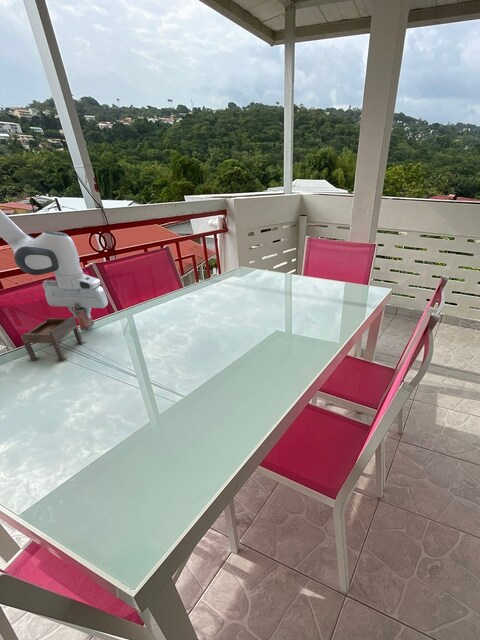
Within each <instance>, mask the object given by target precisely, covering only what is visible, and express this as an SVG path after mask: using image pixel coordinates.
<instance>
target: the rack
mask: <svg viewBox="0 0 480 640" xmlns="http://www.w3.org/2000/svg"><path fill="white" fill-rule="evenodd" d="M71 332H73V334H74V335H75V339H76V342H77V344H78V345H83V344H84V341H83V338H82V336H81V333H80V330H79V328H78V324H77V322H76V318H75V317H74V315H71V316H69V317H67V318H61V317H59V318H57V317H55V318H54V317H53V318H52V317H47V318H45V320H44V321H43V322H42V323H39V325H37V326H35V327H34V328H33V329H31V330H30V331H28V332H26V333H22V334H21V336H20V339H21V341H22V344H23V346H24V348H25V350H26V352H27V354H28V357H29V359H30V360H31V361H36V360H37V359H38V358H37V356H36V353H35V351H34V348H33V347H32V344H52V346H53V349H54V351H55V353H56V356H57V359H58V361H59V362H63V361H64V360H65V356H64V353H63V351H62V348H61V346H60V343H59V342H60V341H61V340H63V339H64V338H65V337H67V336H68V335H69V334H70V333H71Z"/></svg>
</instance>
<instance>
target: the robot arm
mask: <svg viewBox="0 0 480 640" xmlns="http://www.w3.org/2000/svg"><path fill="white" fill-rule="evenodd" d="M0 238H1V239H3V240H4V241H5V242H6V243H7V244H8V245H9V247H10V248H11V250H12V252H13V257H14V262H15V264H16V266H17V267H18V268H19V269H20V270H21V271H22V272H23V273H26V274H28V275H31V276H43V275H45V274H51V273H53V274H54V277H55V279H45V280H43V282H42V288H43V290H44V294H45V299H46V302H47V304H48V305H49V306H50V307H59V308H60V307H63V308H64V307H65V308H67V309H68V310H69V311H70V313H71V314H73V316H74V318H75V319H77V316H76V314H75V313H74V310H75V309H76V308H75V306H74V305H75V303H78V304H79V306H80V307H85V310H87V312H86V316H87V318H91V317H92V314H91V312H92V309H105V308H106V307H107V306H108V305H109V300H108V297H107V294H106V292H105V290H104V288H103V287H102V286H100V285H101V283H102V282H101V280H100V279H99V278H97V277H94V276H91V275H88V274H85V273H84V270H83V268H82V267H81V263H80V256H79V253H78V250H77V247H76V245H75V243H74V240H73V239H72V237H71V236H69V234H67V233H65V232H61V231H57V230H44V231H43V232H42V233H41V234H39V235H38V236H37V237H33V236H31V235H29V234H27V233H26V232H25V231H24V230H22V228H20V227H19V226H18V225H17V224H16V223H15V222H14V221H13V220H12V219H11V218H10V217H9V216H8V215H7V214H6V213H5V212H4V211H3V210H2V209H1V208H0ZM90 314H91V315H90Z"/></svg>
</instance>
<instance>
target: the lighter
mask: <svg viewBox="0 0 480 640" xmlns="http://www.w3.org/2000/svg"><path fill="white" fill-rule="evenodd" d="M74 306H75V308H74V309H75V310H74V313H75V314H76V316H77V318H76V319H77V322H78V324H79V329H80V331H81V332H83V331H88V330H90V329H91V328H92V327H93V326H94V325H95V322H94V320H93V317H92V314H91V313H90V315H91V318H87V316H86V312H87V310H85V307H80V306H79V304H78V303H75V305H74Z"/></svg>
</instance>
